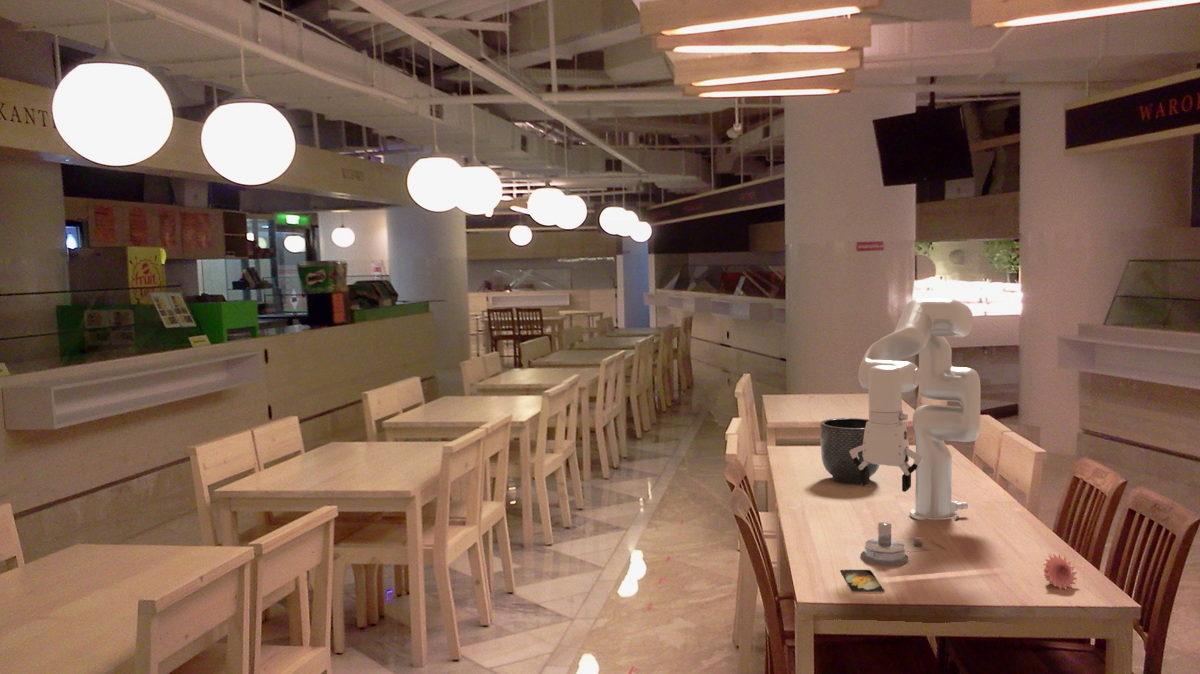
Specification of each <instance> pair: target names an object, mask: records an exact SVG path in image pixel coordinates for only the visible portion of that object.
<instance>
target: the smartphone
mask: <svg viewBox="0 0 1200 674" xmlns="http://www.w3.org/2000/svg"><path fill="white" fill-rule="evenodd" d="M839 572H840V573H841V576H842V577H843V579H844V581H845V583H846V584H847V586H848V588H849V590H850V591H851V593H853V594H884V593H885V590H884V587H882V585H881V583H880V582H879V581H878V579H877V578H876V576H875V575H874V573H873V571H872V570H870V569H841V570H839Z"/></svg>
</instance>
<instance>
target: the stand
mask: <svg viewBox="0 0 1200 674" xmlns="http://www.w3.org/2000/svg"><path fill="white" fill-rule="evenodd" d="M894 540H895V541H898V542H901V543H903V544H904V549H905V551H907V552H909V553H914V552H915V553H917V552H928V551H929V552H930V551H942V550H947V548H946V547H944V546H942V545H940V544H939V543H937V542H936V541H934V540H932V539H930V538H928V537H927V536H925V537H924V536H923V537H921V536H920V537H919V536H914V537H913V538H912V537H911V538H899V539H894Z"/></svg>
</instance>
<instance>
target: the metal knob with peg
mask: <svg viewBox="0 0 1200 674" xmlns="http://www.w3.org/2000/svg"><path fill="white" fill-rule="evenodd" d="M877 526H878V527H877V536H878V538H874V539H873V538H872V539H869V540H866V541H865V542H864V543H865V545H864V551H865V556H866V557H867V558H869V559H872V560H875V561H881V562H896V561H902V560H903V559H904V558H905V554H906V550H905V549H904V544H903V543H901V542H898V541H895V540H896V539H892V524H891V523H890V522H886V521H885V522H884V521H883V522H878V524H877Z"/></svg>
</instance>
